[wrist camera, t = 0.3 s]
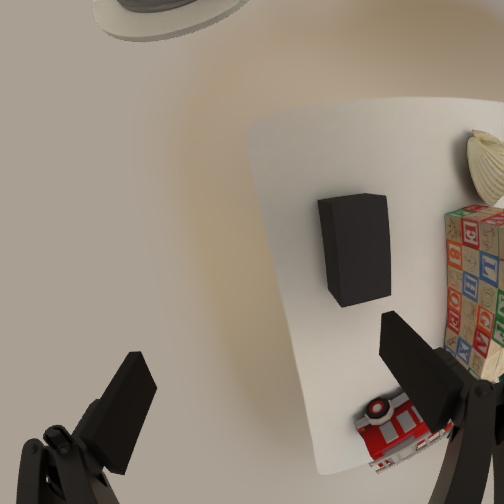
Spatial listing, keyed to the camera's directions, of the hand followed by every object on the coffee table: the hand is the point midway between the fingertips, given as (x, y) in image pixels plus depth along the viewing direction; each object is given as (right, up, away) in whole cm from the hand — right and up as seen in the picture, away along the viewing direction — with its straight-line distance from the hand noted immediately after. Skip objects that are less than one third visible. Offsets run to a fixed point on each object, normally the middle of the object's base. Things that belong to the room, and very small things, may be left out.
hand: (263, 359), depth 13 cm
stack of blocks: (+27, +1, +14) cm, 30 cm away
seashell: (+26, +16, +11) cm, 33 cm away
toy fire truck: (+23, -16, +18) cm, 33 cm away
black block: (+9, +7, +12) cm, 17 cm away
